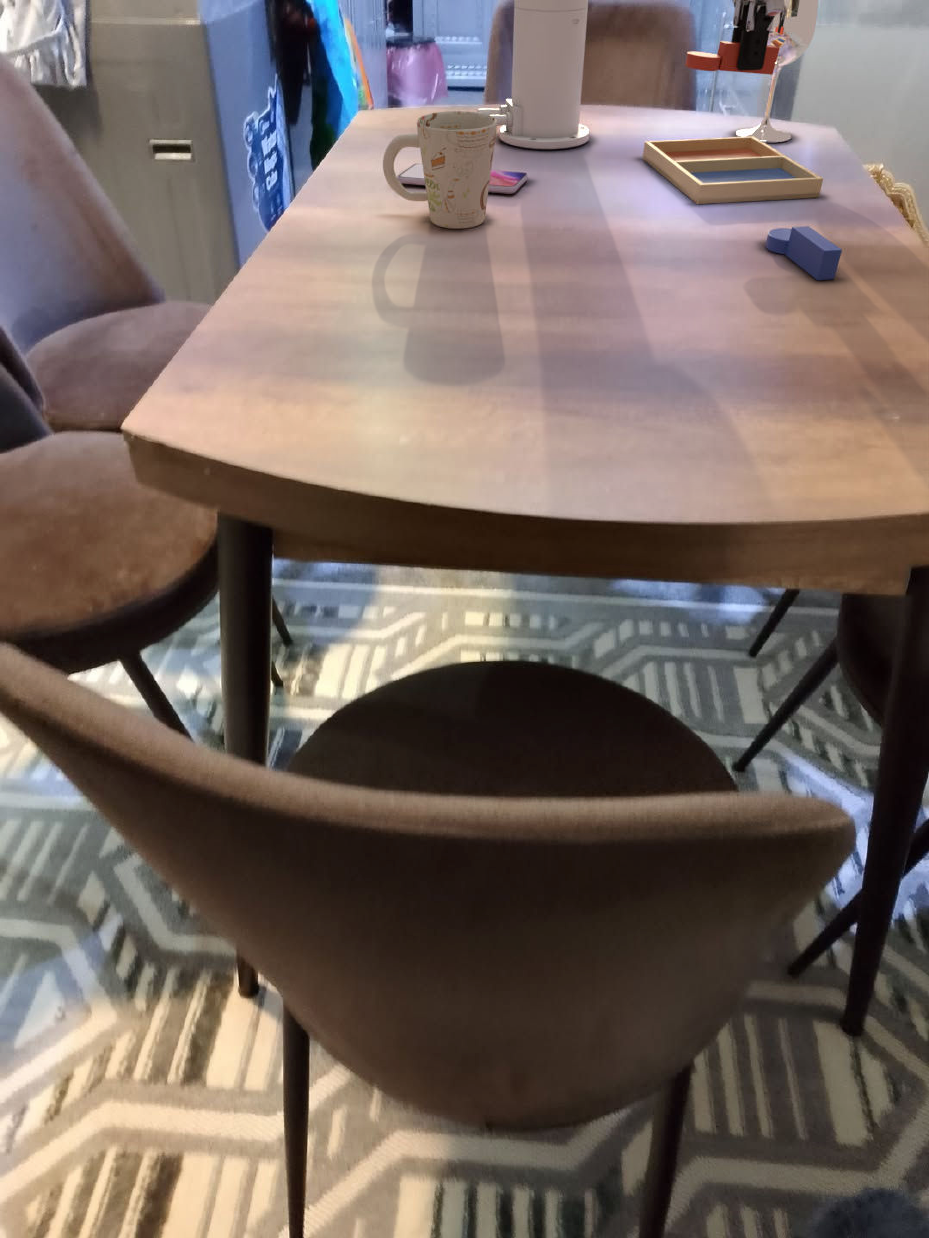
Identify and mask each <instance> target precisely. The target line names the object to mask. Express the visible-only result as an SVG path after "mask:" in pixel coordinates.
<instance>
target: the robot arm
mask: <svg viewBox="0 0 929 1238" xmlns="http://www.w3.org/2000/svg"><path fill="white" fill-rule="evenodd" d="M731 1H732V3H733V7H734V12H733V19H732V26H733V28H732V35H731V41H730V42H738V43H740V48H739V54H738V60H737V69H738V70H760V69H762V68H763V65H764V59H765V54H766V48H767V42H768V37H769V31H770V30H771V29H772V25H773V20H774V17H775V16H776V15H777V14H779V13H780V12H782V10H783V8H784V0H731ZM513 8H514V9H513V34H512V35H513V41H512V72H511V73H512V74H511V98H506V99H505V105H504V104H503V105H499V108H490V107H488V108H477V110H476V112H478V113H483V114H487V115H490V116H492V117H494V118H495V119H496V121H497V127H500V128H499V139H500V141H502V142H503V143H505V144H508V145H511V146H514V147H519V148H524V149H532V150H533V149H534V150H561V149H570V148H574V147H579V146H582V145H584V144H586V143H587V142H589V140H590V132H591V131H590V129H589V128H588V126H586V125H583V124H581V123H580V117H581V103H582V91H583V90H582V89H583V78H584V77H583V76H584V63H585V50H586V49H585V48H586V37H587V24H588V23H587V22H588V12H589V11H588V9H589V0H513Z"/></svg>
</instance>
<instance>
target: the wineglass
mask: <svg viewBox="0 0 929 1238" xmlns="http://www.w3.org/2000/svg"><path fill="white" fill-rule="evenodd" d="M818 7H819V0H784V8H783V10H782V12H780V13H779V14H777V15H776V16H775V17H774V20H773V25H772V29H771V30H770V31H769V37H768V42H767V45H773V46H776V47H778V48H780V49H779V53H778V56H777V60H776V64H775V68H774V71H773V75H770V76H771V77H770V85H769V90H768V95H767V101H766V106H765V111H764V115H763V117H762V120H761V122H760V123H759V125H758V126H756V127H755V126H754V127H753V126H752V127H751V126H750V127H744V128H741V129H738V130H736V132H735V135H736V137H749V136H754V137H756V138H757V139H759V140H761V141H762V142H764V143H765V144H776V143H783V142H786V141H790V140H791V138H792V135H791V133H789V132H787V131H785V130H782V129H779V128H773V126H772V125H771V121H770V119H771V118H770V117H771V110H772V107H773V106H772V105H773V101H774V96H775V91H776V86H777V81H778V79H779V75H780V72H781V70H782V68H783V67H785V66H786V67H787V66H788V65H790V64H792V63H793V62H795V61H796V60H798V59H799V58H800V57H801V56H802V55H803V54H804V53H805V51H806V50H807V49H808V48H809V46H810V45H811V43H812V40H813V38H814V34H815V31H816V24H817V17H818V9H819V8H818Z"/></svg>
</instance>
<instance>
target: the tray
mask: <svg viewBox="0 0 929 1238" xmlns="http://www.w3.org/2000/svg"><path fill="white" fill-rule="evenodd" d="M642 160H643V161H645V163H647V164H648V165H650V167H652V168H653V169H654V170H656V171H657V172H658V173H659V174H660V175H662V176H663V177H664V178H665V179H666V180H667V181H669V182H670V183H671V184H672V185H674V186H675V187H676V188H677V189H678V190H679V191H681V192H682V193H683V194H684V195H686V196H687V198H689V199H691V200H692V201H693V202H694V203H695V204H696V205H705V204H721V203H722V204H724V203H738V202H739V203H740V202H743V203H744V202H756V201H757V202H758V201H759V202H760V201H775V200H794V199H795V200H796V199H811V198H812V199H813V198H820V196H821V195H820V194H821V190H822V185H823V181H824V178H823V177H822V176H820V175H818V174H817V173H815V172H814V171H812V170H811V169H809V168H807V167H805V166H803V165H802V164H800V163H798V162H797V161H796V160H794V159H792V158H790V157H789V156H787V155H785V154H784V153H782V152H780V151H779V150H778V149H775V148H774V147H772V146H771V145H769V144H768V143H764V142H762V141H761V140H759V139H757V138H756V137H754V136H749V137H738V136H732V137H730V136H729V137H709V138H689V139H666V140H646V141H645V140H644V144H643V153H642Z"/></svg>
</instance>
